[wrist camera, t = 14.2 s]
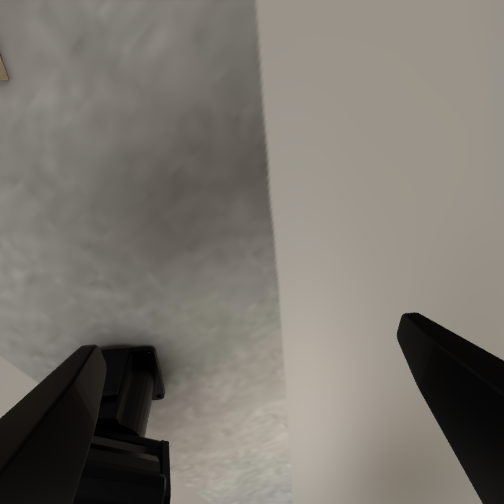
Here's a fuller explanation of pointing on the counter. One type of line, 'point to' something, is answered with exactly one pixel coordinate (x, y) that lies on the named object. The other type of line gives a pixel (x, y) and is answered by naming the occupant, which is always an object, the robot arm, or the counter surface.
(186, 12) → the counter surface
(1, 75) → the tan block
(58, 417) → the robot arm
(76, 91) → the counter surface
